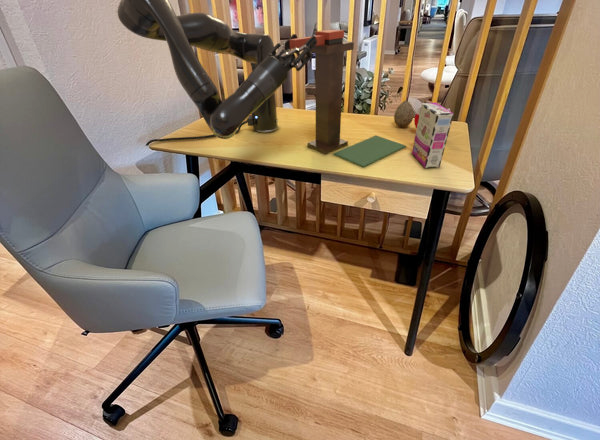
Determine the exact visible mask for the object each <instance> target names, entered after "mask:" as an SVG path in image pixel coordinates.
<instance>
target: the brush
mask: <svg viewBox="0 0 600 440" xmlns="http://www.w3.org/2000/svg"><path fill="white" fill-rule="evenodd" d="M312 36H313V35H311V36H303V37H297V38H296V39H290V49H289V50H292V49H294V48H300V47H301V46H303V45H304V44H305V43H306V42H307V41H308V40H309V39H310V38H311V37H312ZM314 36H315V37H316V40H317V45H316V46H318V45H324V44H327V45H330V44H336V43H342V42H343V41H344V38H345V30H344V29H343V30H342V29H324V30H316V31H315V35H314Z"/></svg>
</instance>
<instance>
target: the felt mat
mask: <svg viewBox="0 0 600 440" xmlns="http://www.w3.org/2000/svg"><path fill="white" fill-rule="evenodd" d="M406 147H407V145H406V144H402V143H400V142H397V141H394V140H391V139H388V138H385V137H382V136H379V135H374V136H371V137H369V138H366V139H364V140H361V141H360V142H357V143H354V144H352V145H350V146H346V147H344V148H341V149H339V150H337V151H334V153H333V156H335V157H338V158H340V159H342V160H345V161H347V162H350V163H352V164H355V165H357V166H359V167H361V168H366V167H368V166H369V165H372V164H374V163H377V162H378V161H380V160H382V159H384V158H386V157H388V156H390V155H392V154H394V153H397V152H398V151H401V150H403V149H405V148H406Z"/></svg>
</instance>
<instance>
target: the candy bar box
mask: <svg viewBox="0 0 600 440" xmlns="http://www.w3.org/2000/svg"><path fill="white" fill-rule="evenodd" d="M420 106H421V110H420V115H419V119H418V125H417V129H416V131H415V135H414V140H413V146H412V150H411V155H412V156H413V157H414V158H415V159H416V161H418V163H420V164H421V166H422V167H423V168H424V169H439V168H440V167H441V163H442V160H443V156H444V152H445V149H446V145H447V141H448V138H449V133H450V130H451V126H452V124H453V123H452V122H453V118H454V114H455V113H454V112H452V111H451V110H450V111H451V112H450V111H449V110H447V109H448V108H446V107H444V105H443V106H442V105H441V104H439V103H438V102H423V103H421V104H420Z"/></svg>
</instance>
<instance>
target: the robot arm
mask: <svg viewBox="0 0 600 440" xmlns="http://www.w3.org/2000/svg"><path fill="white" fill-rule="evenodd" d="M116 14H117V17H118V20H119V21H120V24H122V25H123V26H124V27H125V28H126V29H127V30H128V31H130V32H131V33H133V34H135V35H137V36H139V37H141V38H144V39H149V40H155V41H163V42H166V44H167V46H168V49H169V54H170V57H171V61H172V65H173V66H172V67H173V70H174V73H175V75H176V78H177V80H178V82H179V84H180V86H181V87H182V88H183V90H184V91H185V93H186V94H187V96H188V97H189V98H190V100H191V101H192V102H193V104H194V105H195V106H196V107H197V109H198V110H199V113H200V115H201V116H202V118H203V119H204V121H205V123H206V124H207V126H208V128H209V129H210V131H211V133H212V134H208V135H199V136H183V137H181V136H180V137H166V138H153V139H150V140H148V141H147V142H146V144H145V147H147V146H148V147H149V145H150V144H152V143H155V142H157V143H158V142H169V141H183V140H200V139H208V138H215V137H217V138H218V139H222V140H228V139H231V138H232V137H234V136H235V135H236V134H238V133H240V131H241V128H242V127H243V126H244V125H246V124H247V126H248V127H252V128H253V132H257V133H260V134H261V133H262V134H264V133H265V134H269V133H272V132H275V131H277V130H278V128H279V124H278V122H279V120H278V113H277V102H276V91H277V90H279V88H280V87H281V86H282V85H283V84H284V83H285V82H286V81H287V79H288V73H289V71H290V70H292V69H295V70H296V72H300V71H301V70H303V68H304V67H305V65H307V64H308V62H309V61H310V60H311V59H312V58H313V57H314V55H313V53H312V52H311V50H312V49H313V48H314V47H315V46H316V45H317V40H316V37H315V36H316V35H311V36H312V37H311V38H310V39H309V40H308V41H307V42H306V43H305V44H304V45H303V46H301V47H300V48H294V49H290V39H296V38H298V35H297V34H296V33H292V34H291V35H290V36H289V38H288V39H287V40H286V41H282V43H280V42H278V43H276V44H275V45H274V41H273V39H272V37H271V36H270V35H269V34H266V33H252V32H251V33H249V32H248V33H245V32H241V31H237V30H234V29H232V27H230V25H229V24H228V23H227V22H225V20H223V19H221V18H219V17H216V16H214V15H211V14H208V13H205V12H191V13H185V14H180V15H177V14H176V11H175V9H174V8H173V5H172V4H171V2H170V0H120V1H119V4H118V7H117V11H116ZM193 47H194V48H197V49H200V50H203V51H207V52H211V53H216V54H220V55H230V56H233V57H236V58H238V59H240V60H242V61H244V62H247V63H249V64H251V63H256V64H257V67H256V68H255V69H254V70H253V71H252V70H251V72H250V73H249V75H248V76H247V78H246V79H245V80H244V81H243V82H242V83H241V84H240V85H239V86H238V87H237V88H236V89H235V90H234V92H233V93H231V94H230V95H229V96H228V97H227V98H225V99H224V100H222V98H221V96H220V93H219V90H218V88H217V86H216V84H215V83H214V81H213V80H212V78H211V77H210V76H209V74H208V72H207V71H206V69H205V68H204V66H203V65H202V63H201V61H200V60H199V58H198V57H197V55H196V53H195V51H194V49H193ZM296 55H297V56H296Z"/></svg>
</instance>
